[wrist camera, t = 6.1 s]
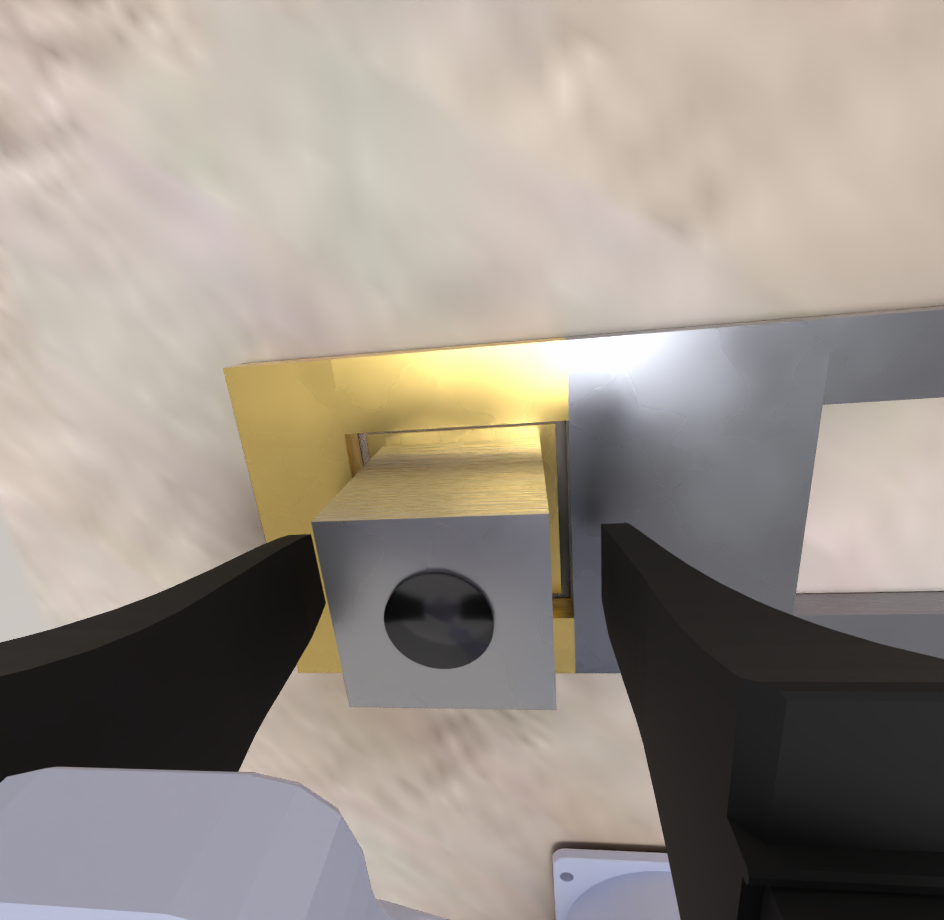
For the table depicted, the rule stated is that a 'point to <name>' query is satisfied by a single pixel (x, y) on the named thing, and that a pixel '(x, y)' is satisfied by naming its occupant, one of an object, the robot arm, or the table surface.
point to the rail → (615, 449)
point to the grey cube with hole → (443, 577)
